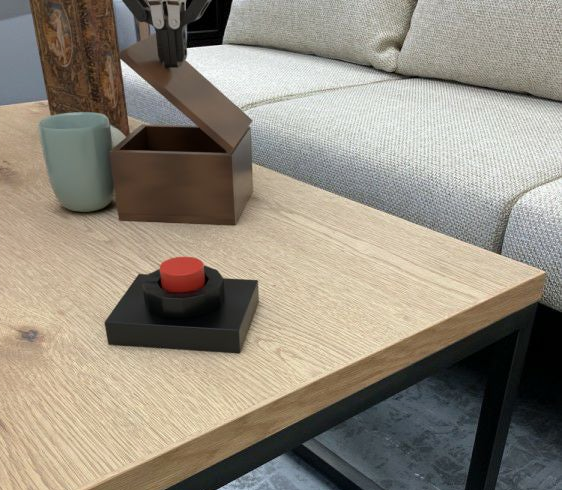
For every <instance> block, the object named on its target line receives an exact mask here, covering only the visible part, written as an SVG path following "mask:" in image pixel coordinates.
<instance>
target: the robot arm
mask: <svg viewBox="0 0 562 490" xmlns="http://www.w3.org/2000/svg"><path fill="white" fill-rule="evenodd" d="M121 2H122V3H123V4H124V5H125V7H126V8H127V9H128V10H129V12H130V13H131V14H132V15H133V17H134V18H135V19H136V20H137V21H138V22H140V23H146V24H148V25H150V26H152V27H153V28H154V30H155V31H154V32H155V33H156V40H157V50H158V57H159V59H160V61H162V62H164V66H165V67H166V68H179V67H180V66H182V63H183V61H184V60H186V61H187V57H188V47H187V34H186V28H187V26H188V24H191V23H194V22H196V21H198V20H200V18H201V17H202V16H203V15H204V13H205V11H206V9H207V8H208V7H209V5H210V3H211V2H212V0H192V1H191V2H190V4H189V6H188V7H187V6H186V5H187V0H121Z"/></svg>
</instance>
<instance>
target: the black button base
mask: <svg viewBox="0 0 562 490" xmlns="http://www.w3.org/2000/svg"><path fill="white" fill-rule="evenodd" d="M204 274H205V285H204V286H203V287H201V288H199V289H197V290H193V291H188V292H170V291H167V290H164V289H163V288H162V285H161V276H160V268H159V269H156V270H154V271H152V272H150V273H138V274H137V276H136V277H135V278H134V280H133V281H132V283H131V284H130V286H129V287H128V288H127V290H126V291H125V293H124V294H123V295H122V297H121V298H120V300H119V301H118V302H117V304H116V305H115V307H114V308H113V309H112V310H111V312H110V313H109V315H108V316H107V318H105V320H104V328H105V329H104V330H105V334H106V339H107V345H108V346H116V347H117V346H118V347H119V346H120V347H134V348H147V349H148V348H149V349H162V350H163V349H165V350H178V351H194V352H195V351H196V352H211V353H225V354H227V353H228V354H241V353H242V349H243V346H244V343H245V341H246V338H247V335H248V334H249V333H248V332H249V330H250V327H251V325H252V322H253V318H254V316H255V313H256V310H257V308H258V306H259V302H260V294H259V293H260V291H259V279H249V278H247V279H245V278H227V277H223V275H222V274H221V273H220V271H219V270H218V269H216V268H214V267H210V266H207V265H204Z"/></svg>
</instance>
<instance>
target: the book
mask: <svg viewBox="0 0 562 490" xmlns="http://www.w3.org/2000/svg"><path fill="white" fill-rule="evenodd" d="M28 2H29V6H30V12H31V18H32V23H33V29H34V34H35V38H36V39H35V40H36V44H37V51H38V55H39V60H40V67H41V72H42V78H43V82H44V87H45V88H44V89H45V93H46V98H47V104H48V109H49V116H53V115H57V114H64V113H75V112H91V113H100V114H104V115H106V116H107V117H108V119H109V123H110V124H111V125H113V126H114V127H116V128H117V129H119V130H120V131H121V132H122V133H123V134H124V135H125V136H126V137H127V136H128V135H129V134H131V131H130V124H129V117H128V108H127V107H128V106H127V101H126V100H127V99H126V93H125V84H124V76H123V69H122V60H121V59H120V58H119V57H118V55H119V54H120V47H119V46H120V45H119V38H118V31H117V24H116V23H117V22H116V14H115V6H114V0H28Z"/></svg>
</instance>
